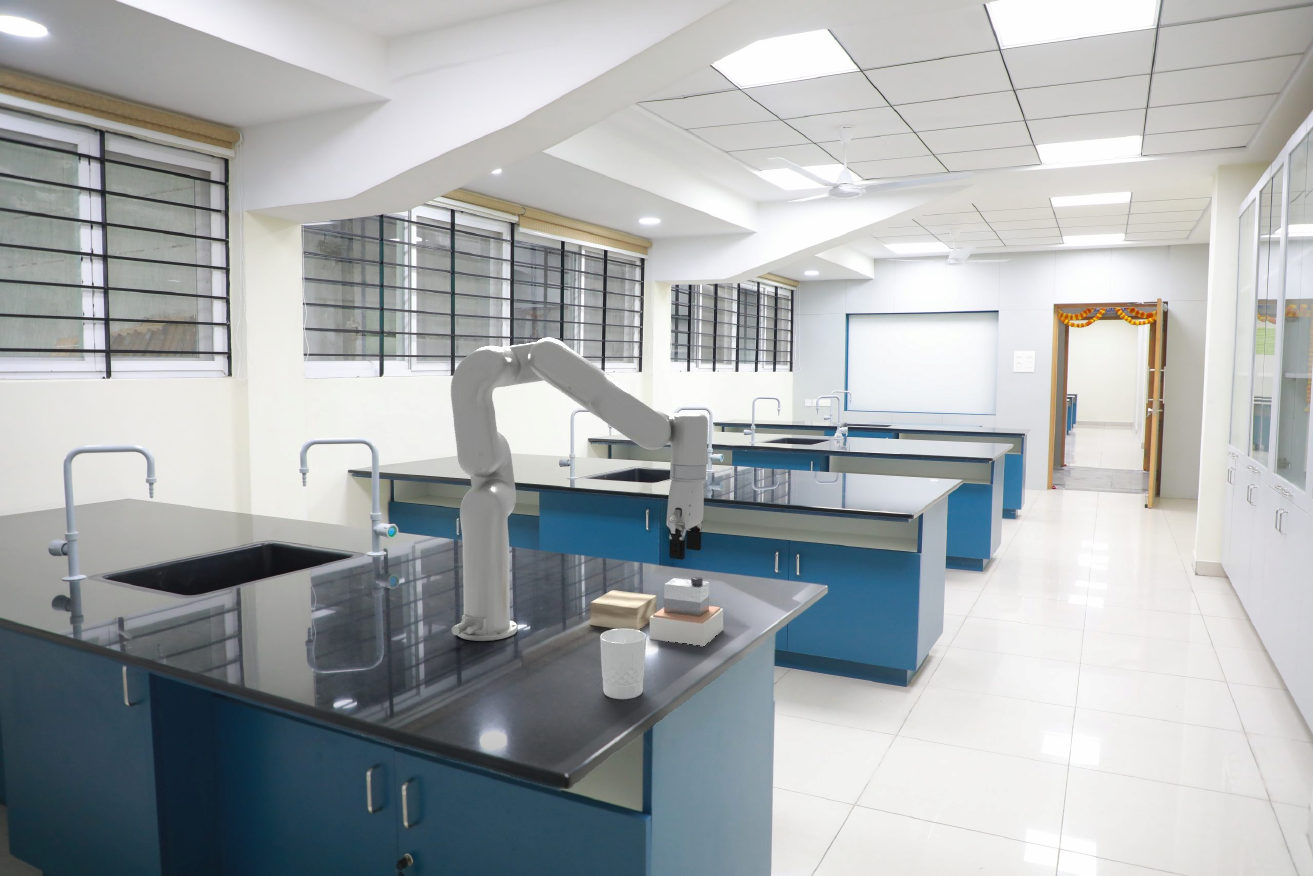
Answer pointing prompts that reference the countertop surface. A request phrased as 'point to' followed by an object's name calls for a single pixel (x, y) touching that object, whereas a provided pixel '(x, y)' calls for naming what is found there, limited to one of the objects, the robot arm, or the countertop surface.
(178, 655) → the countertop surface
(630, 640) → the white cup
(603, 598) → the stand
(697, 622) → the stand
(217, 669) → the countertop surface
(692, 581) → the housing
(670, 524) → the robot arm
